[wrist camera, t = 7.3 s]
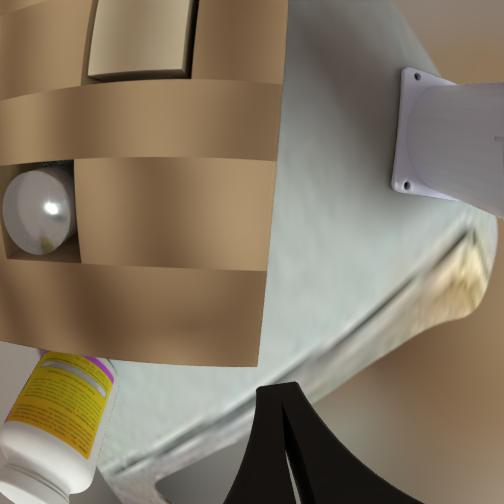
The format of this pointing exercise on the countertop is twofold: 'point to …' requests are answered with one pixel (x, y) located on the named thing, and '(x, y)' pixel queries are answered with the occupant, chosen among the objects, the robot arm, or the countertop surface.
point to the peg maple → (143, 40)
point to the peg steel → (41, 208)
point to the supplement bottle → (57, 428)
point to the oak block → (144, 187)
